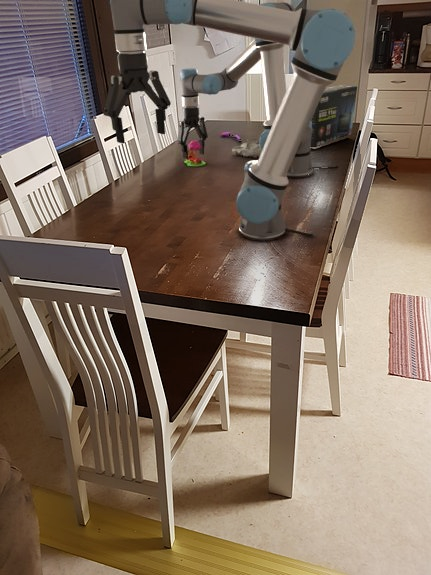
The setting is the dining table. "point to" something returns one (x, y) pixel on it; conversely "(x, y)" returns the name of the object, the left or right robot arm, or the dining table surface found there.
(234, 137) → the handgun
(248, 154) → the fossil
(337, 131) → the router box
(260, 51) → the right robot arm
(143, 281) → the dining table surface
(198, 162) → the toy figurine
